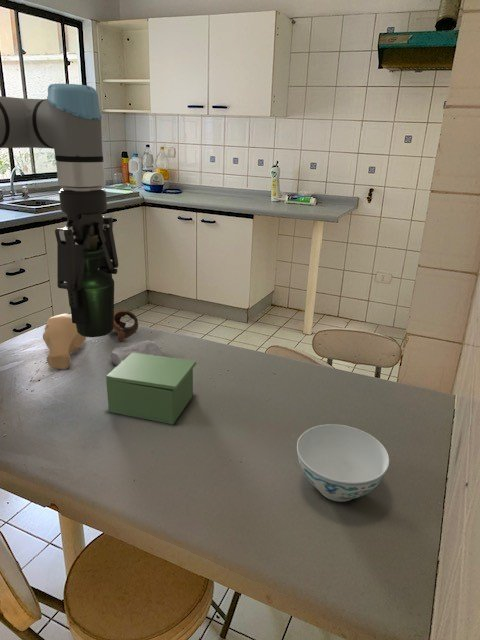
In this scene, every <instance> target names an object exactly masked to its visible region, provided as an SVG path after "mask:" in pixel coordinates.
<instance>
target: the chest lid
mask: <svg viewBox="0 0 480 640" xmlns="http://www.w3.org/2000/svg"><path fill="white" fill-rule="evenodd" d="M196 365H197V360H192V359H184V358H177V357H170V356H169V357H168V356H164V357H162V356H155V355H147V354H140V353H131V354H130V355H129V356H128V357H127V358H126V359H125V360H123V361H122V362H121V363H120V364H119V365H118V366H115V367H114V368H113V369H112V370H111V371H110V372H109V373H107V374H106V375H105V380H114V381H120V382H127V383H134V384H140V385H147V386H153V387H160V388H167V389H173V390H176V389H177V388H178V387H179V385H180V384H181V383H182V382H183V380H184V379H185V378H186V376H187V375H188V374H189V373H190V371H191V370H192V369H193V370H194V368H195V366H196Z"/></svg>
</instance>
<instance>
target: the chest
mask: <svg viewBox="0 0 480 640" xmlns="http://www.w3.org/2000/svg"><path fill="white" fill-rule="evenodd" d="M105 381H106V395H107V405H108V406H107V407H108V408H107V409H108V412H109V413H113V414H118V415H123V416H128V417H133V418H137V419H143V420H147V421H154V422H158V423H162V424H163V423H164V424H168V425H174V423H176V421H177V419H178V418H179V417H180V415H181V414H182V412H183V411H184V409H185V408H186V407H187V405H188V404H189V403H190V401H191V400H192V398H193V396H194V368H193V369H192V370H191V371H190V373H189V374H188V375H187V376H186V378H185V379H184V380H183V382H182V383H181V384H180V385H179V387H178V388H177V389H176V390H173V389H167V388H160V387H153V386H147V385H140V384H134V383H127V382H120V381H114V380H107V379H105Z"/></svg>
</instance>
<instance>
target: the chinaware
mask: <svg viewBox="0 0 480 640" xmlns="http://www.w3.org/2000/svg"><path fill="white" fill-rule="evenodd" d="M296 454H297V459H298V463H299V466H300V469H301V471H302V473H303V475H304V477H305V478H306V479H307V481H308V482H309V483H310V484H311V485H312V486H313V488H315V489H316V490H317V491H319V492H320V494H321V495H323V496H324V497H325V498H327V499H328V500H331V501H334V502H348V501H351V500H354V499H358V498H361V497H364V496H366V495H367V494H369V493H370V492H372V491H373V490H375V489H376V488H377V486H379V484H380V483H381V482H382V480H383V479H384V477H385V476H386V474H387V471H388V469H389V466H390V456H389V455H390V454H389V453H388V450H387V449H386V447H385V446H384V445H383V444H382V443H381V441H379V440H378V439H377V437H374V436H373V435H372V434H370V433H368V432H366V431H364V430H361V429H359V428H356V427H353V426H349V425H344V424H338V423H337V424H336V423H335V424H334V423H327V424H326V423H325V424H320V425H319V424H318V425H316V426H313V427H311V428H308V429H306V430H305V431H303V433H302V434H300V436H299V438H298V439H297V442H296Z"/></svg>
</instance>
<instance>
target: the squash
mask: <svg viewBox="0 0 480 640" xmlns="http://www.w3.org/2000/svg"><path fill="white" fill-rule="evenodd" d="M42 340H43V341H44V344H45V345H46V347H47V348H48V352H49V353H48V355H47V356H46V362H47V365H48V366H49V367H50V368H51V369H61V370H66V369H68V368H69V367H70V364H71V355H72V353H74V352H77V351H78V350H79V349H81V347H82V345H83V344H84V343H85V341H86V340H87V337H85V336H82V335H80V334H79V333H78V332H77V328H76V324H75V323H72V316H71V314H69V313H60V314H57V315H53V316H51V317H49V318H48V320H47V321H46V323H45V326H44V332H43V333H42Z"/></svg>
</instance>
